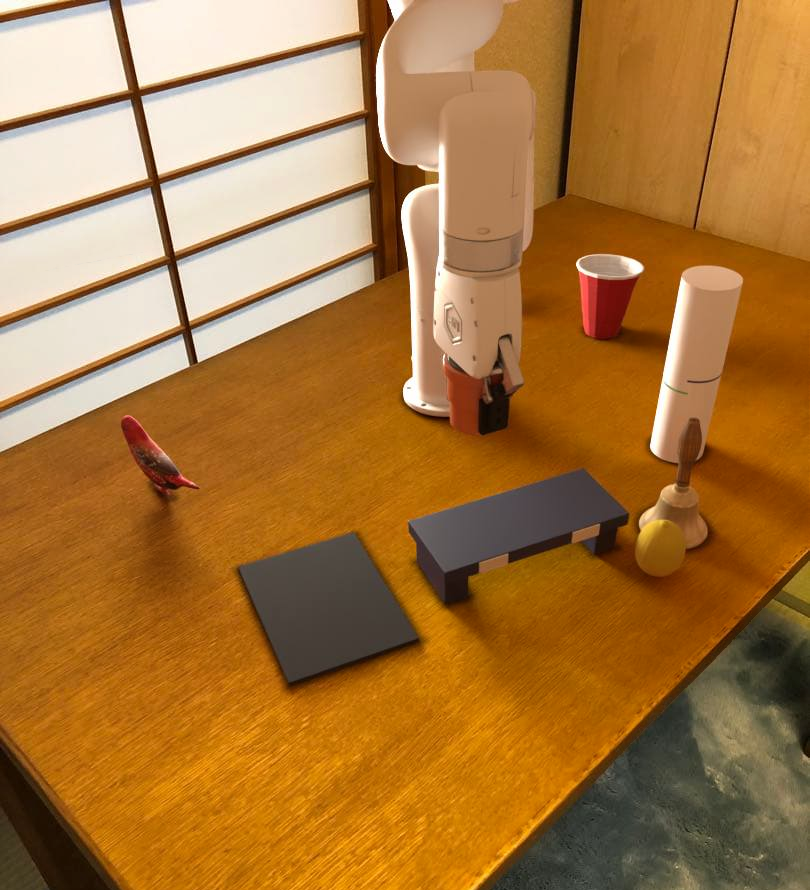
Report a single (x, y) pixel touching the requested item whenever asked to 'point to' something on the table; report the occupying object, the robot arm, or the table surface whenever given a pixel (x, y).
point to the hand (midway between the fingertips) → (476, 412)
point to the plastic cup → (606, 291)
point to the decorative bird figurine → (152, 458)
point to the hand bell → (682, 491)
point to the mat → (325, 608)
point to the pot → (464, 396)
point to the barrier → (514, 529)
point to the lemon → (660, 548)
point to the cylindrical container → (695, 354)
